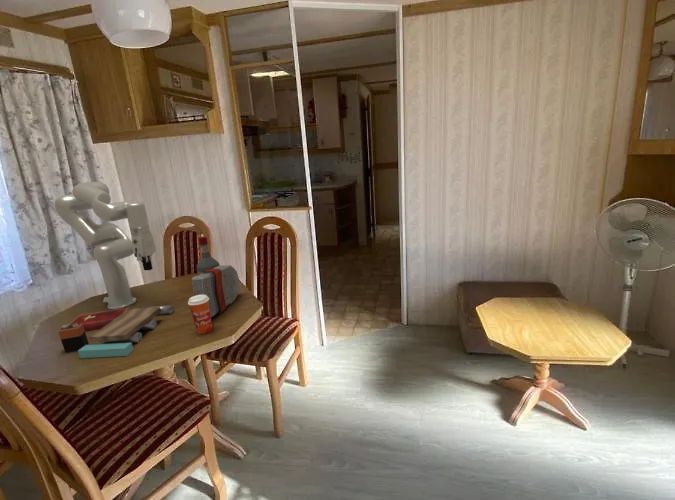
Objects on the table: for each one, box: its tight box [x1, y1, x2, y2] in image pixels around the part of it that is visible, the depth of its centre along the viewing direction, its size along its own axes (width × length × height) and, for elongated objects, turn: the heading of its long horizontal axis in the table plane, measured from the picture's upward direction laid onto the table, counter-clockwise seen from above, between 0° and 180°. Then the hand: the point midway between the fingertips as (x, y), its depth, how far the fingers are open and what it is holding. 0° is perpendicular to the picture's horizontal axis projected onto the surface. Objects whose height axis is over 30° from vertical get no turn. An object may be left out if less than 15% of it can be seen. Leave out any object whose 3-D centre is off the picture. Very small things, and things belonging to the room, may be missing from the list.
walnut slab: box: [89, 307, 161, 343], centre depth 145 cm, size 14×24×2 cm, turn 176°
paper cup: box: [187, 295, 213, 335], centre depth 142 cm, size 8×8×14 cm
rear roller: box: [137, 304, 175, 315], centre depth 164 cm, size 15×4×4 cm, turn 86°
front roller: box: [138, 319, 158, 331], centre depth 151 cm, size 15×4×4 cm, turn 86°
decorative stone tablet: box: [191, 265, 240, 318], centre depth 162 cm, size 19×6×30 cm
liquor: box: [196, 236, 221, 276], centre depth 175 cm, size 9×9×30 cm
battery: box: [57, 323, 90, 353], centre depth 138 cm, size 4×7×10 cm, turn 103°
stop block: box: [77, 343, 134, 359], centre depth 132 cm, size 18×4×3 cm, turn 86°
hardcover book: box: [67, 306, 131, 333], centre depth 159 cm, size 12×21×4 cm, turn 102°
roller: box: [99, 331, 143, 344], centre depth 141 cm, size 15×4×4 cm, turn 86°
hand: (148, 269), depth 165 cm, fingers closed
